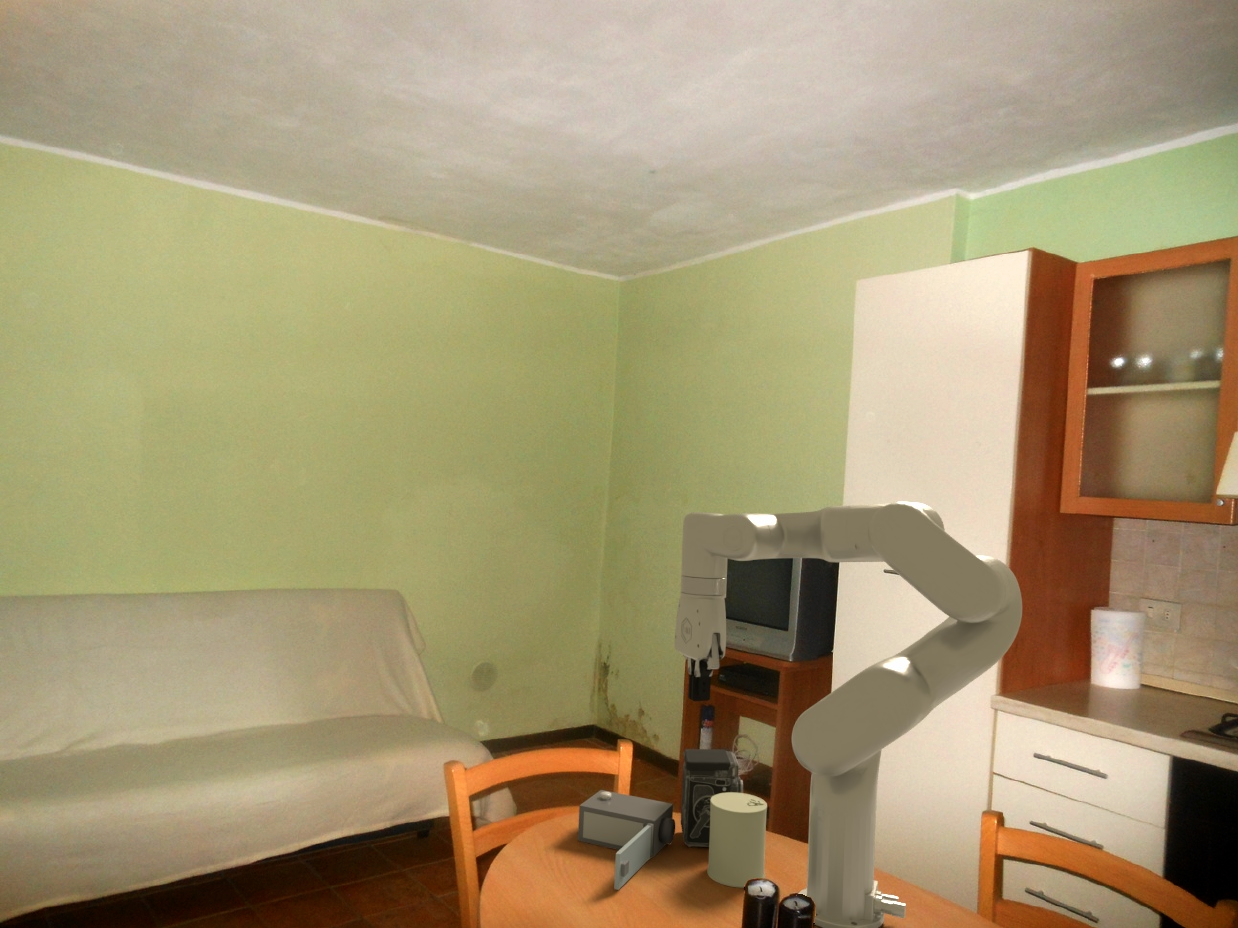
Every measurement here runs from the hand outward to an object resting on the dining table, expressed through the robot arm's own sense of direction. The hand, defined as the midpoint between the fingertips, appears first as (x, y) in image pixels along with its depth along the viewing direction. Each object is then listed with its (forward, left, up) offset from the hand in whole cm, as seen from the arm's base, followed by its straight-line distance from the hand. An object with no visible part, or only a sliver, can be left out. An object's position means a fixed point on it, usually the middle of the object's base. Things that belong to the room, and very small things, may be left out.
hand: (699, 699), depth 139 cm
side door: (+7, +7, -27) cm, 29 cm away
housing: (+14, -5, -27) cm, 31 cm away
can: (-7, -1, -27) cm, 28 cm away
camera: (+1, -12, -27) cm, 30 cm away
